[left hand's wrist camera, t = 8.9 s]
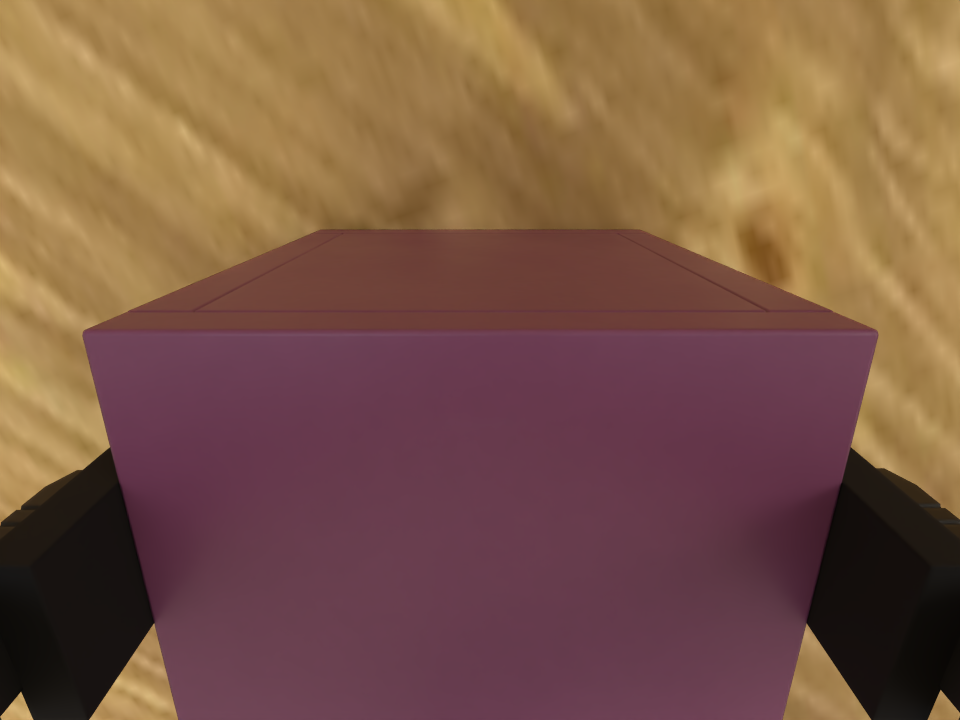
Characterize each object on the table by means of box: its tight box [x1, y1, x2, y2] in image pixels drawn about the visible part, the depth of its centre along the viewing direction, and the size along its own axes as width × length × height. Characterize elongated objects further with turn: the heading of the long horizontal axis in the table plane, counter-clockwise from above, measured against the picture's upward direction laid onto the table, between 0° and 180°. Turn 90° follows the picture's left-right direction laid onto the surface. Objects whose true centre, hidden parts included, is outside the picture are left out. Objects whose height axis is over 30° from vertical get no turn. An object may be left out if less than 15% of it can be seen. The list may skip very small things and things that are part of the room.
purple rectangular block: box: [83, 230, 878, 720], centre depth 16 cm, size 20×11×12 cm, turn 0°
